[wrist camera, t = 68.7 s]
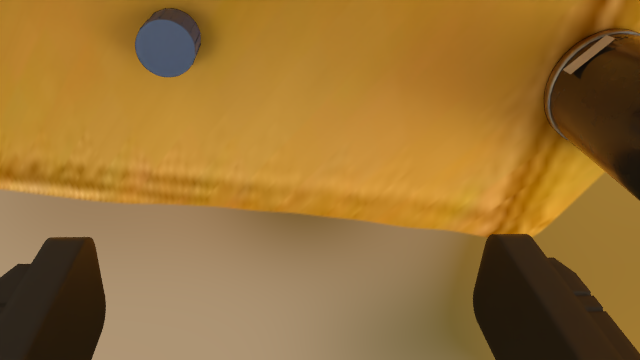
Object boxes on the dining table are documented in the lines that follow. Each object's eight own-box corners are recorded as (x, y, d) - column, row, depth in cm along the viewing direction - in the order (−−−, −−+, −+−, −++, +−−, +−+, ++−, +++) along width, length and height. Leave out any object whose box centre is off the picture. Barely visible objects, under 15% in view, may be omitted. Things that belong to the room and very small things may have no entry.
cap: (200, 9, 37) (194, 20, 34) (201, 64, 39) (196, 79, 36) (142, 6, 37) (131, 16, 34) (147, 61, 38) (137, 76, 36)
